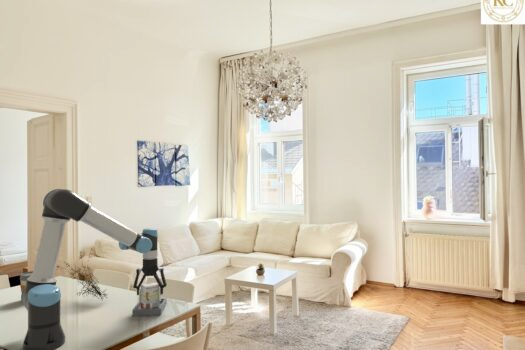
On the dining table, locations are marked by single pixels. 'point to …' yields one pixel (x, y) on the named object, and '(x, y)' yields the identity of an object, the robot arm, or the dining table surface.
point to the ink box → (150, 295)
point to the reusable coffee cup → (24, 279)
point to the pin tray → (152, 311)
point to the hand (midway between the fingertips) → (150, 300)
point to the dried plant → (88, 281)
